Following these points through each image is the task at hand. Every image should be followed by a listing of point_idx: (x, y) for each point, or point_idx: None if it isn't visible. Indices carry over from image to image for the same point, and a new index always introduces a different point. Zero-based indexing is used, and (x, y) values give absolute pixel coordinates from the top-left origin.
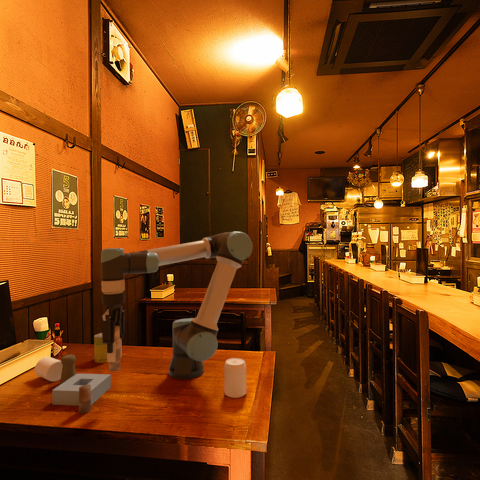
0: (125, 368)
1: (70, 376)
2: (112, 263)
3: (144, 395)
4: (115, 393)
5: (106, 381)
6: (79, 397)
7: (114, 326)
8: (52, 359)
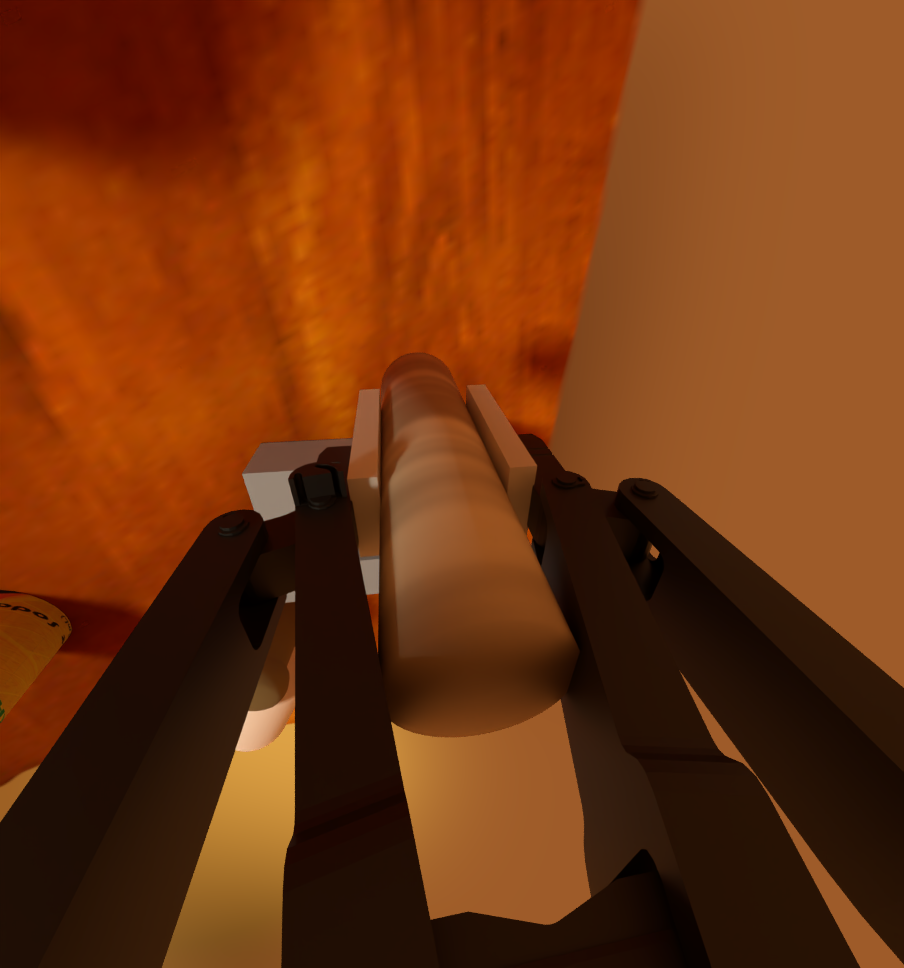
0: (38, 485)
1: (286, 613)
2: None
3: (282, 213)
4: (307, 391)
5: (291, 462)
6: None
7: (620, 660)
8: (251, 725)
